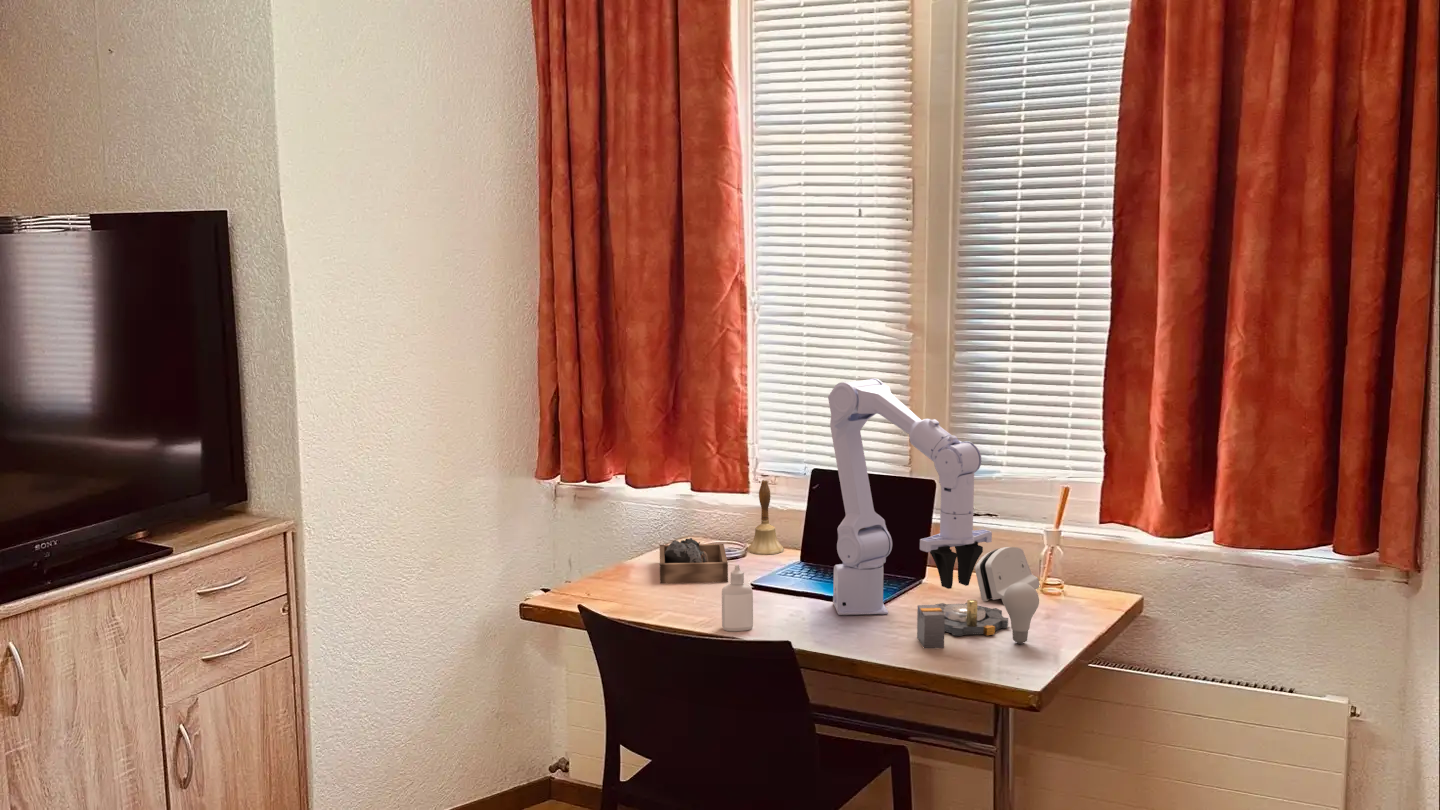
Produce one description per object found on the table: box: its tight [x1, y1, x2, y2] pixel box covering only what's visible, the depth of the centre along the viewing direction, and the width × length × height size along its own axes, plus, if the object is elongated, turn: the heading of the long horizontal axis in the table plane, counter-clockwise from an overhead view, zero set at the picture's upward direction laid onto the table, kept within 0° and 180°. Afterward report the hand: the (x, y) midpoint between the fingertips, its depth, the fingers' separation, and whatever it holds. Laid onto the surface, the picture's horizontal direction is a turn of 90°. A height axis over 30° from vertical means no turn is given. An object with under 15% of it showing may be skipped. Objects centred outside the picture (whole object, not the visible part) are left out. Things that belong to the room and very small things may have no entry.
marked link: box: [916, 604, 945, 650], centre depth 221 cm, size 4×6×6 cm, turn 3°
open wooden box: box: [659, 543, 729, 584], centre depth 267 cm, size 14×16×4 cm
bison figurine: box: [664, 537, 709, 563], centre depth 266 cm, size 12×7×10 cm
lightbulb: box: [1002, 583, 1040, 645], centre depth 220 cm, size 6×6×11 cm
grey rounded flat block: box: [974, 546, 1041, 606], centre depth 251 cm, size 17×5×10 cm, turn 142°
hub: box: [943, 603, 985, 623], centre depth 232 cm, size 8×8×3 cm
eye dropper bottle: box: [721, 563, 754, 632], centre depth 229 cm, size 4×6×12 cm
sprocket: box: [934, 599, 1009, 637], centre depth 231 cm, size 15×15×6 cm
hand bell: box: [746, 480, 785, 556], centre depth 284 cm, size 8×8×16 cm
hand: (955, 585), depth 223 cm, fingers open, 3 cm apart
